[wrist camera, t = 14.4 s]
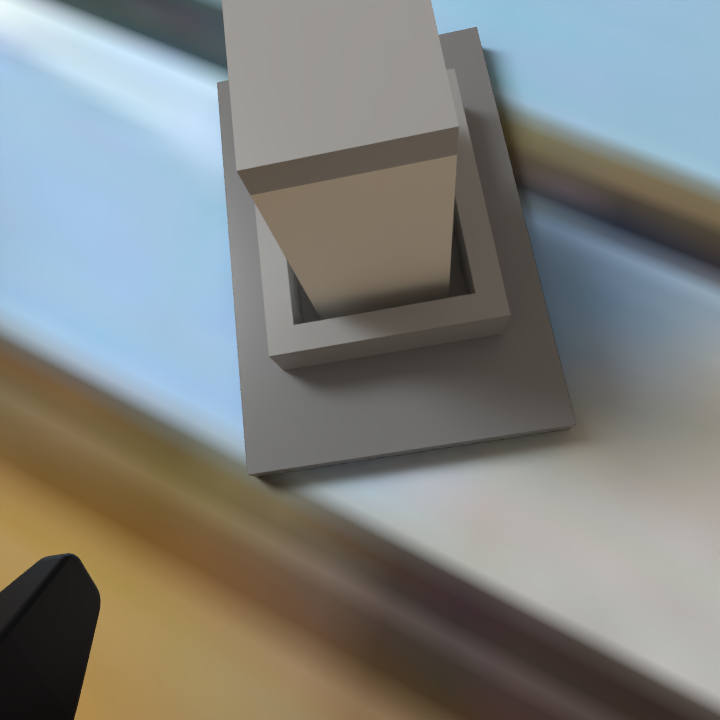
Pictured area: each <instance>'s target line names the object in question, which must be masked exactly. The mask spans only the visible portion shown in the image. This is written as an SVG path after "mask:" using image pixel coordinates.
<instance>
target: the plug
mask: <svg viewBox="0 0 720 720" xmlns="http://www.w3.org/2000/svg"><path fill="white" fill-rule="evenodd" d="M222 6H223V18H224V29H225V41H226V53H227V65H228V77H229V88H230V100H231V112H232V124H233V135H234V147H235V159H236V171H237V173H238V174H239V176H240V178H241V180H242V181H243V183H244V185H245V187H246V188H247V190H248V192H249V194H250V195H251V197H252V199H253V201H254V202H255V204H256V206H257V208H258V210H259V211H260V213H261V215H262V217H263V218H264V220H265V222H266V224H267V225H268V227H269V229H270V231H271V232H272V234H273V236H274V238H275V239H276V241H277V243H278V245H279V246H280V248H281V250H282V252H283V253H284V255H285V257H286V259H287V260H288V262H289V264H290V266H291V268H292V269H293V271H294V273H295V275H296V276H297V278H298V280H299V282H300V283H301V285H302V287H303V289H304V290H305V292H306V294H307V296H308V297H309V299H310V301H311V303H312V304H313V306H314V308H315V310H316V311H317V313H318V315H319V317H320V318H321V320H325V319H331V318H337V317H342V316H348V315H354V314H360V313H365V312H371V311H377V310H382V309H388V308H394V307H400V306H405V305H411V304H417V303H422V302H428V301H434V300H439V299H445V298H449V281H450V264H451V248H452V231H453V215H454V198H455V181H456V165H457V148H458V132H459V125H458V120H457V116H456V111H455V107H454V102H453V98H452V94H451V89H450V85H449V80H448V76H447V71H446V67H445V62H444V58H443V53H442V49H441V44H440V40H439V35H438V31H437V26H436V22H435V17H434V13H433V8H432V4H431V0H222Z"/></svg>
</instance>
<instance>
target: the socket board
mask: <svg viewBox="0 0 720 720" xmlns="http://www.w3.org/2000/svg"><path fill="white" fill-rule="evenodd" d="M439 40H440V44H441V49H442V53H443V58H444V62H445V67H446V71H447V76H448V80H449V85H450V89H451V94H452V98H453V102H454V107H455V111H456V116H457V120H458V125H459V132H458V148H457V165H456V181H455V198H454V215H453V231H452V248H451V264H450V281H449V298H445V299H439V300H434V301H428V302H422V303H417V304H411V305H405V306H400V307H394V308H388V309H382V310H377V311H371V312H365V313H360V314H354V315H348V316H342V317H337V318H331V319H325V320H321V318H320V317H319V315H318V313H317V311H316V310H315V308H314V306H313V304H312V303H311V301H310V299H309V297H308V296H307V294H306V292H305V290H304V289H303V287H302V285H301V283H300V282H299V280H298V278H297V276H296V275H295V273H294V271H293V269H292V268H291V266H290V264H289V262H288V260H287V259H286V257H285V255H284V253H283V252H282V250H281V248H280V246H279V245H278V243H277V241H276V239H275V238H274V236H273V234H272V232H271V231H270V229H269V227H268V225H267V224H266V222H265V220H264V218H263V217H262V215H261V213H260V211H259V210H258V208H257V206H256V204H255V202H254V201H253V199H252V197H251V195H250V194H249V192H248V190H247V188H246V187H245V185H244V183H243V181H242V180H241V178H240V176H239V174H238V173H237V171H236V159H235V147H234V135H233V124H232V112H231V100H230V88H229V80H227V81H222V82H218V83H217V88H218V101H219V114H220V127H221V140H222V153H223V166H224V179H225V192H226V205H227V218H228V231H229V244H230V257H231V270H232V283H233V296H234V309H235V322H236V335H237V348H238V361H239V374H240V387H241V400H242V413H243V426H244V439H245V452H246V465H247V475H251V476H255V477H257V476H263V475H270V474H276V473H283V472H289V471H296V470H303V469H309V468H316V467H322V466H329V465H335V464H342V463H348V462H355V461H361V460H368V459H375V458H381V457H388V456H394V455H401V454H407V453H414V452H420V451H427V450H433V449H440V448H447V447H453V446H460V445H466V444H473V443H479V442H486V441H492V440H499V439H505V438H512V437H519V436H525V435H532V434H538V433H545V432H551V431H558V430H564V429H570V428H571V427H573V426H574V425H576V423H575V419H574V415H573V411H572V407H571V403H570V399H569V395H568V391H567V387H566V383H565V379H564V375H563V371H562V367H561V363H560V359H559V355H558V351H557V347H556V343H555V339H554V335H553V331H552V327H551V323H550V319H549V315H548V311H547V307H546V303H545V299H544V295H543V291H542V287H541V283H540V279H539V275H538V271H537V267H536V263H535V259H534V255H533V251H532V247H531V243H530V239H529V235H528V231H527V227H526V223H525V219H524V215H523V211H522V207H521V203H520V199H519V195H518V191H517V187H516V183H515V179H514V175H513V171H512V167H511V162H510V158H509V154H508V150H507V146H506V142H505V138H504V134H503V130H502V126H501V122H500V118H499V114H498V110H497V106H496V102H495V98H494V94H493V90H492V86H491V82H490V78H489V74H488V70H487V66H486V62H485V58H484V54H483V50H482V46H481V42H480V38H479V34H478V30H477V27H474V28H469V29H465V30H460V31H455V32H451V33H446V34H441V35H439Z"/></svg>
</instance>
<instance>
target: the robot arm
mask: <svg viewBox="0 0 720 720" xmlns="http://www.w3.org/2000/svg"><path fill="white" fill-rule="evenodd" d="M99 611H100V594H99V591H98V589H97V587H96V585H95V584H94V582H93V580H92V579H91V577H90V575H89V574H88V572H87V570H86V569H85V567H84V565H83V564H82V562H81V560H80V559H79V558H78V557H77V556H76V555H74V554H70V553H67V554H60V555H53V556H47V557H44V558H42V559H40V560H39V561H38V562H36V563H35V564H34V565H33V566H32V567H30V568H29V569H28V570H27V571H26V572H24V573H23V574H22V575H21V576H19V577H18V578H17V579H16V580H15V581H13V582H12V583H11V584H10V585H8V586H7V587H6V588H5V589H4V590H2V591H1V592H0V720H74V717H75V713H76V710H77V706H78V702H79V698H80V694H81V689H82V685H83V680H84V676H85V672H86V667H87V663H88V659H89V654H90V650H91V646H92V641H93V637H94V633H95V628H96V624H97V620H98V615H99Z"/></svg>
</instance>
